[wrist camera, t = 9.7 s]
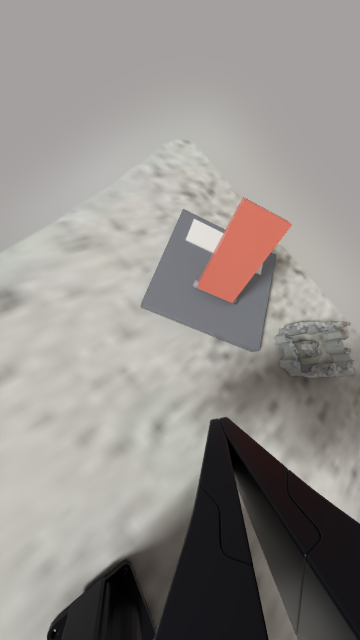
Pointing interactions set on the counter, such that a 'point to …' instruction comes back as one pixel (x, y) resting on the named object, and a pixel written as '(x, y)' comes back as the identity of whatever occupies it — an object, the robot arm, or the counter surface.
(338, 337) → the grey lumpy stone piece
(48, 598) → the counter surface
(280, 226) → the lever
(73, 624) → the robot arm
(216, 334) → the base
